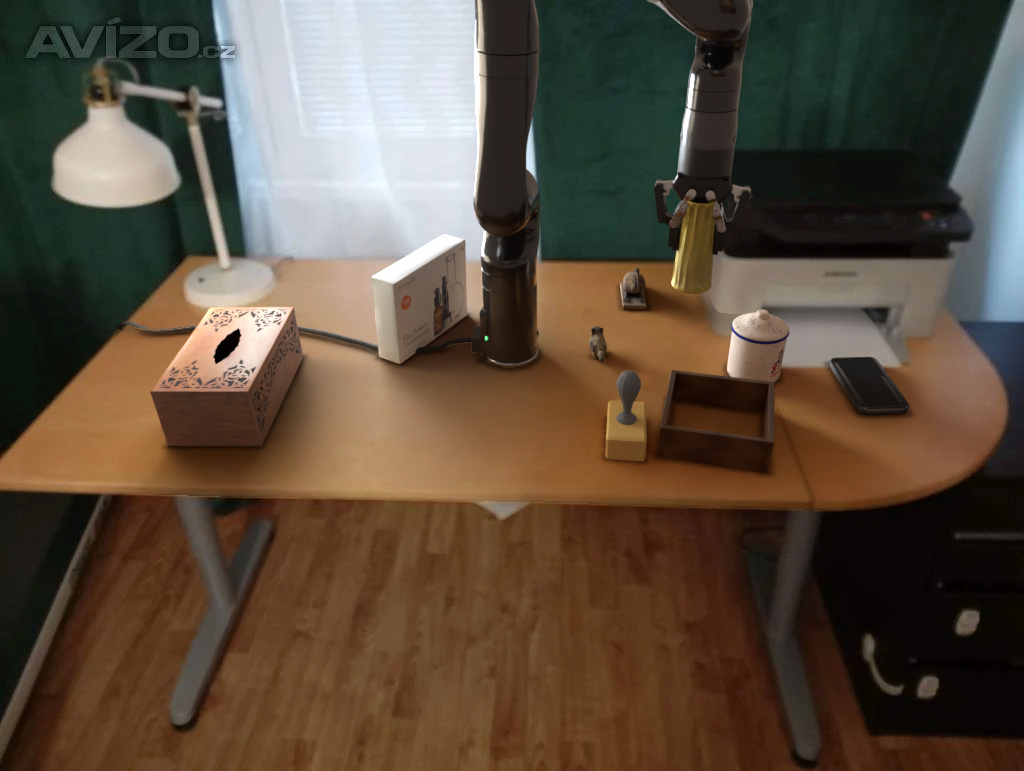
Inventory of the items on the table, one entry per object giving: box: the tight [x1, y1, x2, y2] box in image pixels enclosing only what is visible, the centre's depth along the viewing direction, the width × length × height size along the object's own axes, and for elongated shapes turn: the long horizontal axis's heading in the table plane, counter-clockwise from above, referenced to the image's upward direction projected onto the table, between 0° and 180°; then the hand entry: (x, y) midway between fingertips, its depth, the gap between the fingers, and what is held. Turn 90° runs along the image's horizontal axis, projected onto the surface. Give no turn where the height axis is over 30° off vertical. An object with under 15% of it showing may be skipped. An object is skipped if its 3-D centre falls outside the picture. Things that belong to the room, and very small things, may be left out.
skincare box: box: [370, 233, 468, 365], centre depth 146 cm, size 21×5×16 cm, turn 148°
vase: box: [670, 201, 720, 295], centre depth 123 cm, size 6×6×14 cm
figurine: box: [619, 267, 647, 310], centre depth 157 cm, size 14×4×9 cm, turn 177°
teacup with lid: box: [726, 308, 790, 383], centre depth 135 cm, size 12×9×12 cm
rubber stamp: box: [604, 370, 648, 462], centre depth 120 cm, size 10×6×12 cm, turn 173°
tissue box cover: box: [149, 306, 304, 447], centre depth 132 cm, size 26×14×10 cm, turn 178°
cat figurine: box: [589, 325, 608, 363], centre depth 142 cm, size 3×8×4 cm, turn 4°
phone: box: [829, 356, 910, 416], centre depth 132 cm, size 8×1×15 cm
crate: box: [656, 369, 776, 474], centre depth 122 cm, size 16×16×6 cm
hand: (694, 250), depth 123 cm, fingers closed on vase, 5 cm apart
